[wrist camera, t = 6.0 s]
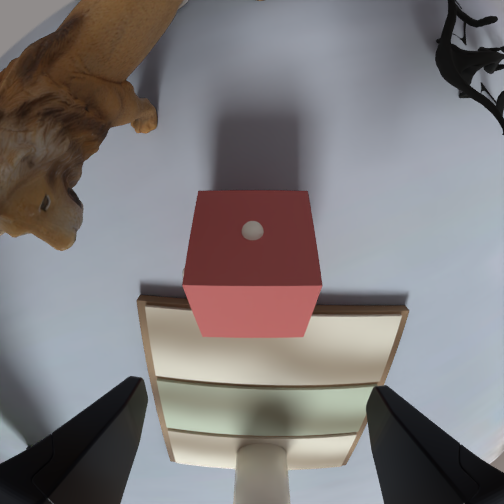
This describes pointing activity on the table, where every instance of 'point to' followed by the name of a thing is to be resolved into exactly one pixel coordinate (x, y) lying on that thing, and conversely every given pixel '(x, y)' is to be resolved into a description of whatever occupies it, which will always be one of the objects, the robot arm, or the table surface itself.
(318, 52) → the table surface
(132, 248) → the table surface
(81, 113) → the lion figurine
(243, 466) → the pawn
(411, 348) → the table surface
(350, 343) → the board
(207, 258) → the die
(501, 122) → the creature
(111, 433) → the robot arm
